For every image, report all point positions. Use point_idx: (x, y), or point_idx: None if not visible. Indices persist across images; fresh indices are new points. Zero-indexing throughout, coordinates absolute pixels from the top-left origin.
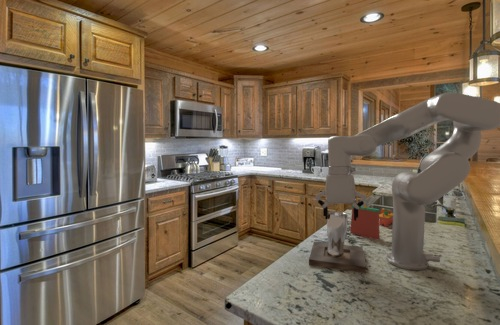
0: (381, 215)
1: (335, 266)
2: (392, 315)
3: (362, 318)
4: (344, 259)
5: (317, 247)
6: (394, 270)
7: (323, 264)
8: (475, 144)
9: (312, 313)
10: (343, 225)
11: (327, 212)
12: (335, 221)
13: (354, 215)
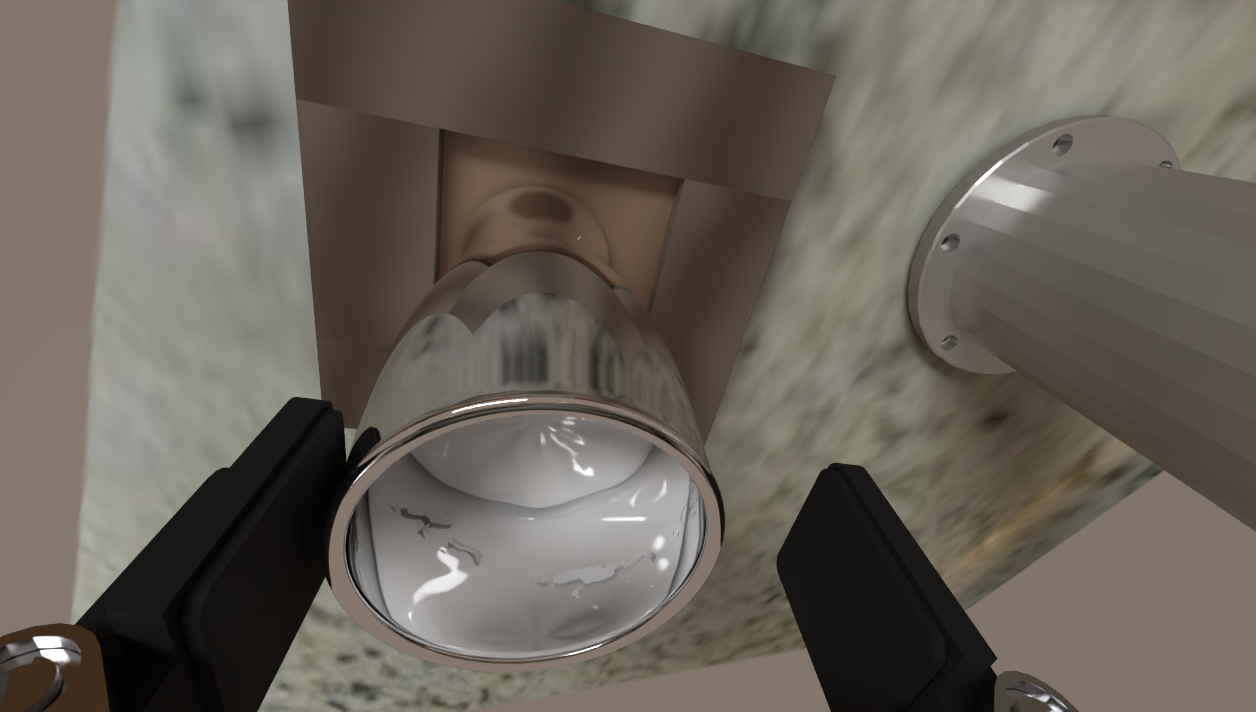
0: None
1: None
2: (668, 660)
3: (571, 686)
4: None
5: (358, 162)
6: (869, 378)
7: None
8: None
9: (416, 701)
10: (605, 532)
11: (291, 591)
12: (489, 590)
13: (808, 636)
